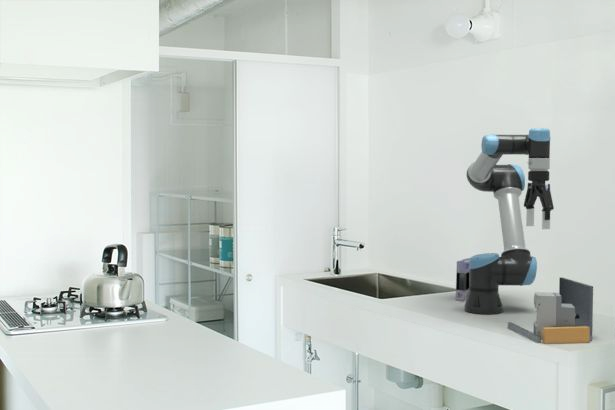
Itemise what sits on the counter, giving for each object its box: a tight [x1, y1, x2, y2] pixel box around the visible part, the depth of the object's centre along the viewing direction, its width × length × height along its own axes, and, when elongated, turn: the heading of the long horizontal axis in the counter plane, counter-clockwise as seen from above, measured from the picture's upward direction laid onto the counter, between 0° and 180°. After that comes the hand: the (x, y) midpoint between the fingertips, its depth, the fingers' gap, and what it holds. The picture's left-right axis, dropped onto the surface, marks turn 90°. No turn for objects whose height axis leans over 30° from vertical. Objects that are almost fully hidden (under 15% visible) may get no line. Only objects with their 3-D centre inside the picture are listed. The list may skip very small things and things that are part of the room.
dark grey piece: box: [507, 277, 594, 344], centre depth 270 cm, size 25×21×18 cm
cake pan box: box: [455, 257, 471, 302], centre depth 346 cm, size 19×5×18 cm, turn 147°
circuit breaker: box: [533, 291, 579, 339], centre depth 264 cm, size 8×14×15 cm, turn 79°
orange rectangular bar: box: [541, 326, 590, 344], centre depth 257 cm, size 2×16×5 cm, turn 98°
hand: (537, 227), depth 286 cm, fingers open, 13 cm apart
